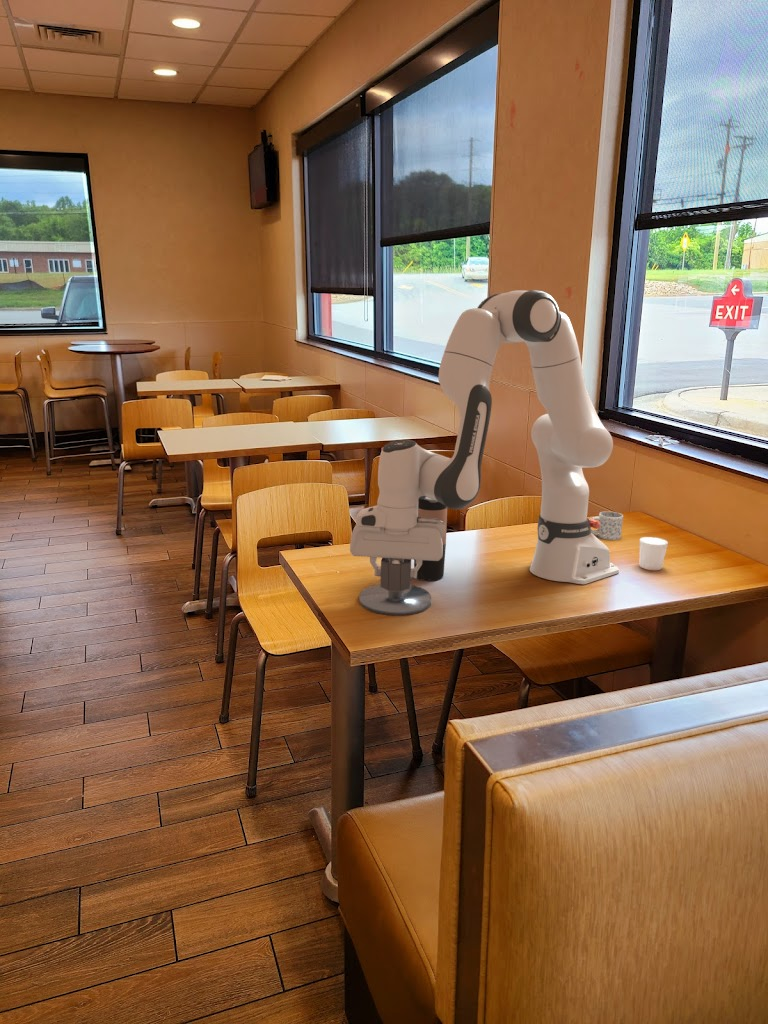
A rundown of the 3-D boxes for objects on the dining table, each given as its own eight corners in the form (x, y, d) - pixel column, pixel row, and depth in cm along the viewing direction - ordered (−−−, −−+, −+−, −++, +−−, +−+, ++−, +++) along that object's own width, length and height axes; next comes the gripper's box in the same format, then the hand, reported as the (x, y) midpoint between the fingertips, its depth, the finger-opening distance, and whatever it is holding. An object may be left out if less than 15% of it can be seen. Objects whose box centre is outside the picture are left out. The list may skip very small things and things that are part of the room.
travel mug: (425, 568, 189) (428, 490, 184) (450, 575, 185) (454, 496, 179) (406, 576, 184) (409, 496, 178) (432, 583, 179) (435, 502, 174)
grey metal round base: (409, 584, 179) (410, 542, 176) (444, 608, 165) (446, 564, 162) (347, 594, 172) (348, 551, 169) (379, 620, 158) (380, 574, 155)
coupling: (382, 579, 170) (383, 554, 169) (411, 581, 170) (411, 556, 168) (379, 589, 164) (380, 563, 163) (408, 591, 164) (409, 565, 162)
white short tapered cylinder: (655, 572, 190) (658, 546, 188) (631, 565, 195) (634, 539, 193) (669, 567, 194) (673, 541, 192) (646, 560, 199) (649, 534, 197)
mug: (615, 533, 222) (618, 511, 221) (624, 540, 216) (626, 517, 214) (582, 533, 222) (584, 511, 220) (590, 540, 215) (592, 517, 214)
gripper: (446, 514, 165) (443, 574, 168) (353, 509, 167) (352, 568, 171) (445, 522, 159) (442, 584, 162) (349, 517, 161) (348, 578, 164)
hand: (395, 576), depth 167 cm, fingers closed on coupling, 6 cm apart
